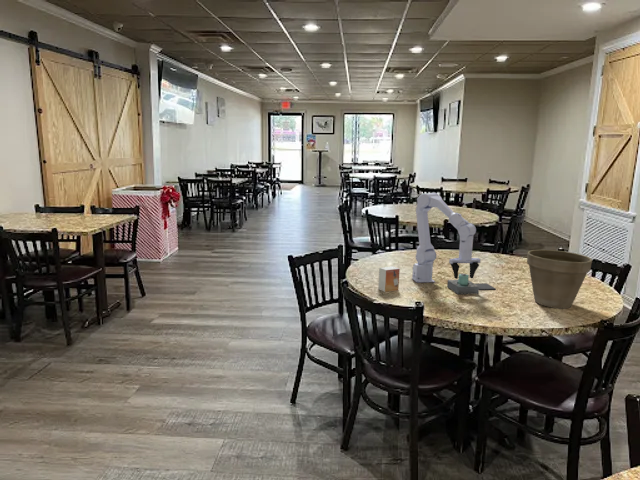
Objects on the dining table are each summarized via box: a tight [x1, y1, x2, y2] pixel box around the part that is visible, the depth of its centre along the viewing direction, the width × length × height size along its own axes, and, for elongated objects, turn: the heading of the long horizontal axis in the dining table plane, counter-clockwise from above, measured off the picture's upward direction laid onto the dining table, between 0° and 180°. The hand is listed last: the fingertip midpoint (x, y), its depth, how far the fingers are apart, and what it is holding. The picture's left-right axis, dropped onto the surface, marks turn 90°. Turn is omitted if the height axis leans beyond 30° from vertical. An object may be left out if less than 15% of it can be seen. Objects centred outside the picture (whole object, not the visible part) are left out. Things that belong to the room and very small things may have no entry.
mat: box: [475, 282, 496, 291], centre depth 232 cm, size 9×9×1 cm
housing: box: [446, 279, 480, 295], centre depth 226 cm, size 10×12×4 cm
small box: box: [377, 265, 401, 293], centre depth 224 cm, size 8×6×10 cm
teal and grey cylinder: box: [457, 273, 470, 285], centre depth 226 cm, size 4×4×8 cm
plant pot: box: [526, 249, 593, 309], centre depth 208 cm, size 25×25×22 cm
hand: (463, 278), depth 225 cm, fingers open, 7 cm apart
